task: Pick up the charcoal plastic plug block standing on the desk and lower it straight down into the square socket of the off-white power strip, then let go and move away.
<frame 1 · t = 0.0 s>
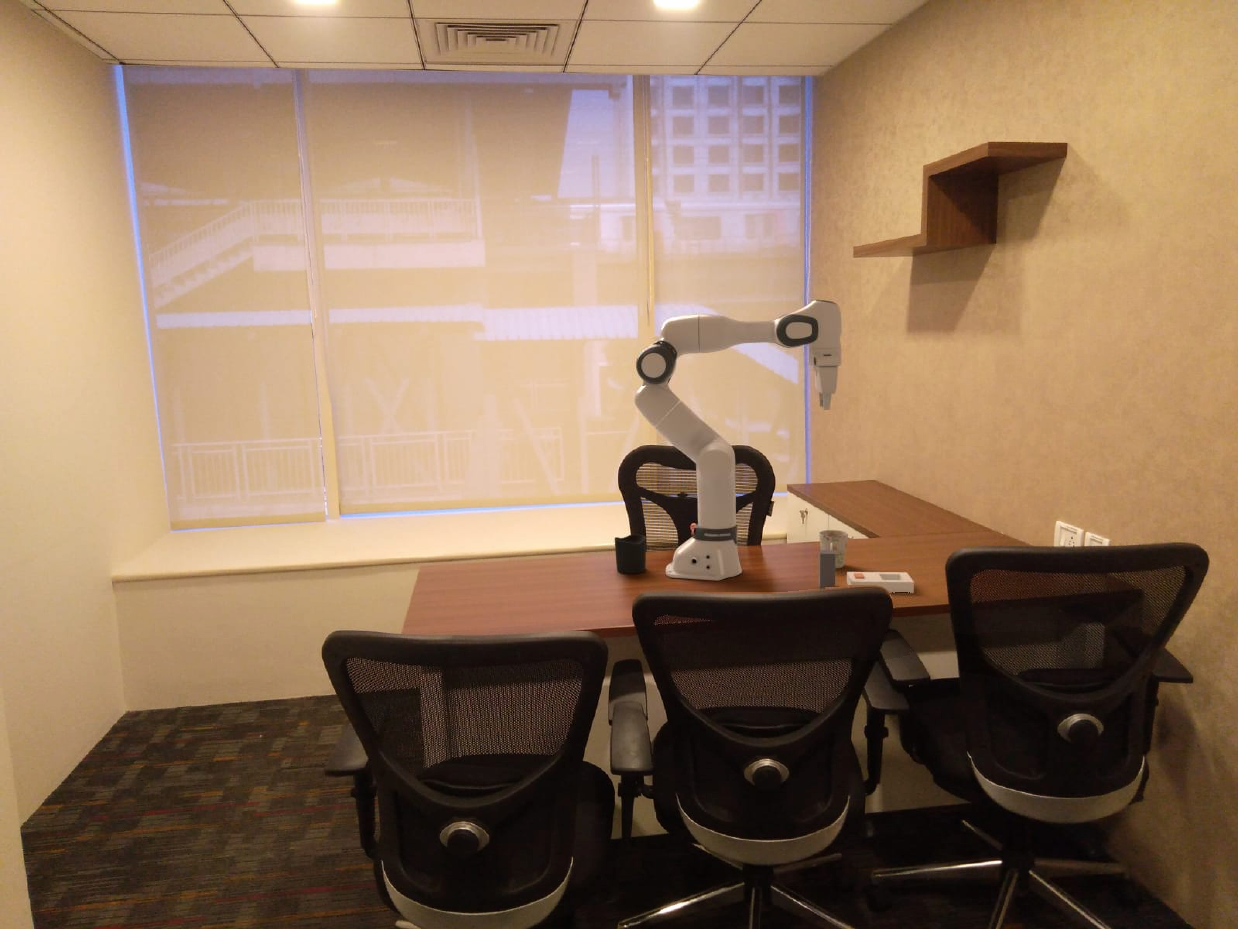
hand: (824, 408, 227), 48 cm above the table, tool pointing down, fingers open, 8 cm apart
power strip: (879, 587, 219), on the table
mug: (833, 568, 239), on the table
pen holder: (631, 570, 243), on the table
plug: (826, 587, 221), on the table
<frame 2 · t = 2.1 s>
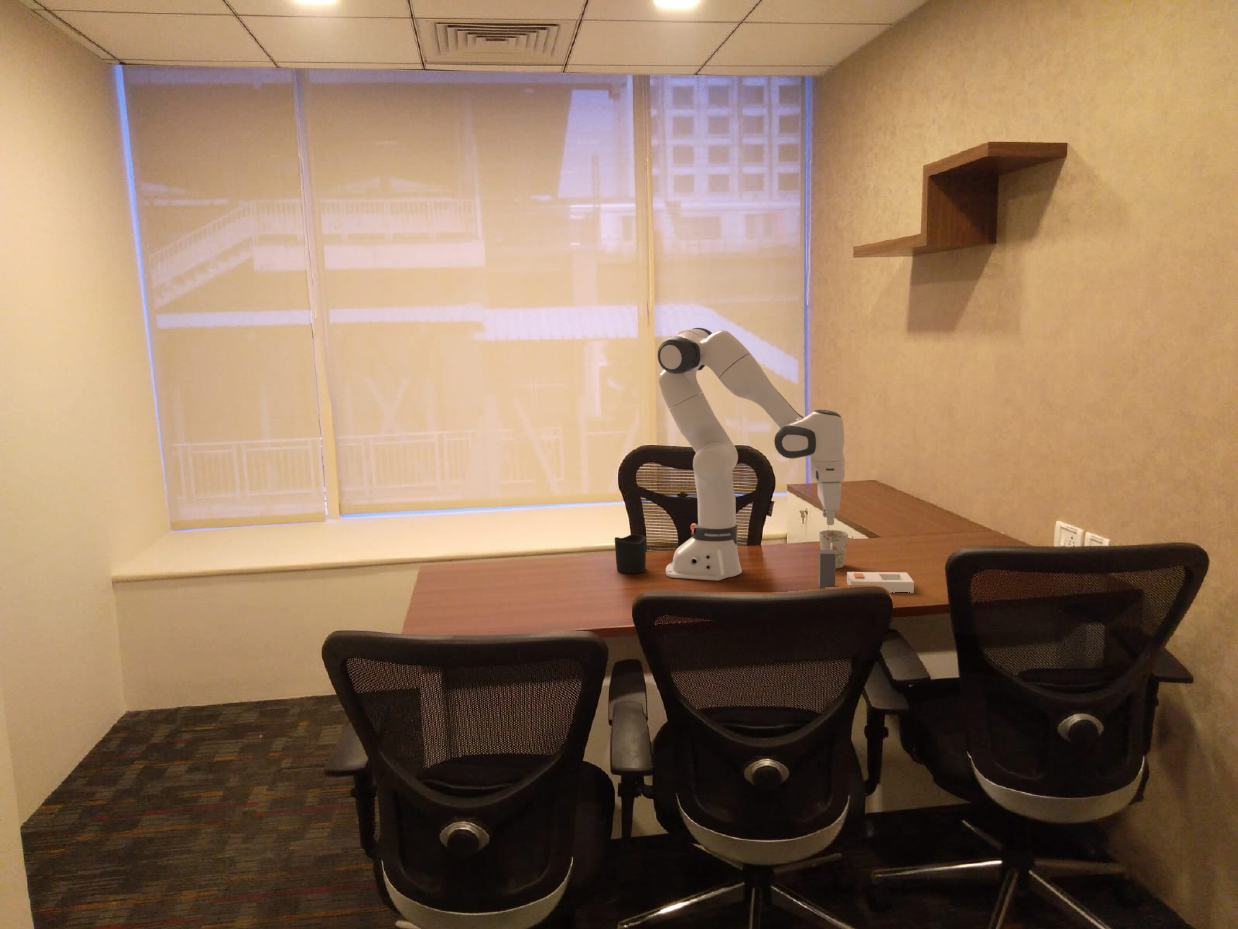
hand: (828, 520, 218), 19 cm above the table, tool pointing down, fingers open, 8 cm apart
nothing on the table moved.
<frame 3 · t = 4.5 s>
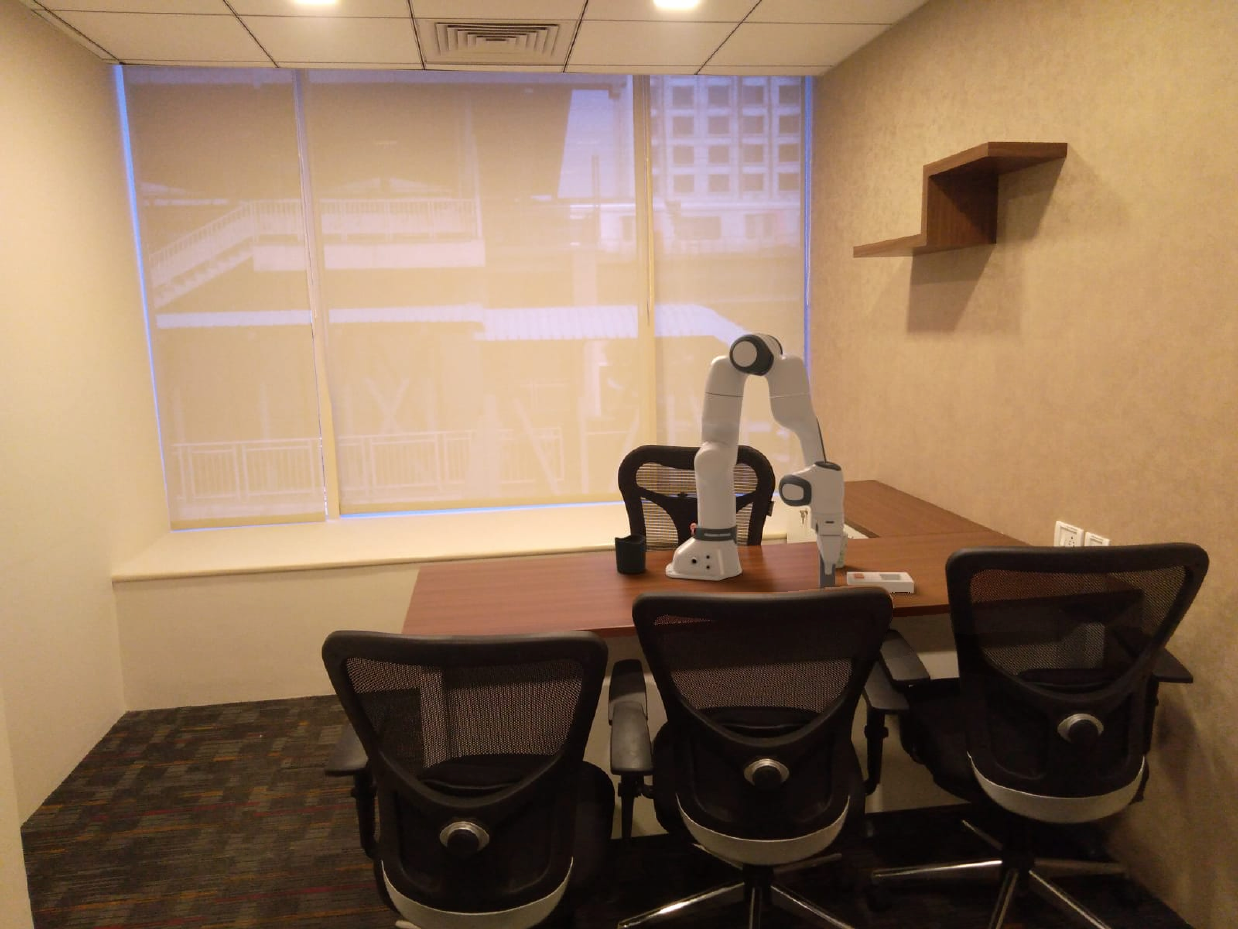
hand: (826, 570, 220), 5 cm above the table, tool pointing down, fingers closed on plug, 4 cm apart
plug: (826, 587, 221), on the table, touching gripper
everything else where it was.
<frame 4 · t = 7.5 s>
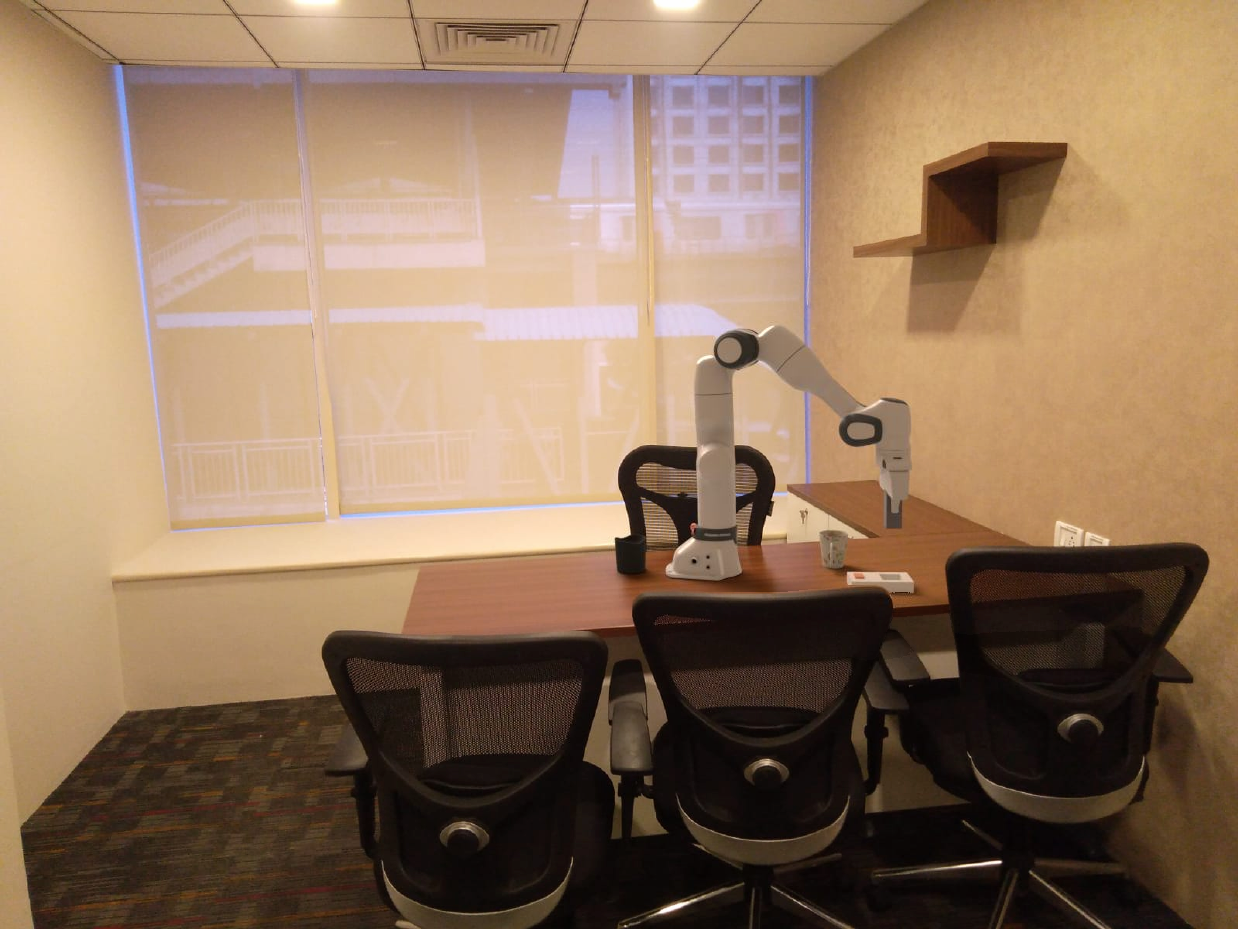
hand: (892, 510, 215), 21 cm above the table, tool pointing down, fingers closed on plug, 4 cm apart
plug: (892, 527, 216), point 17 cm above the table, touching gripper
everything else where it was.
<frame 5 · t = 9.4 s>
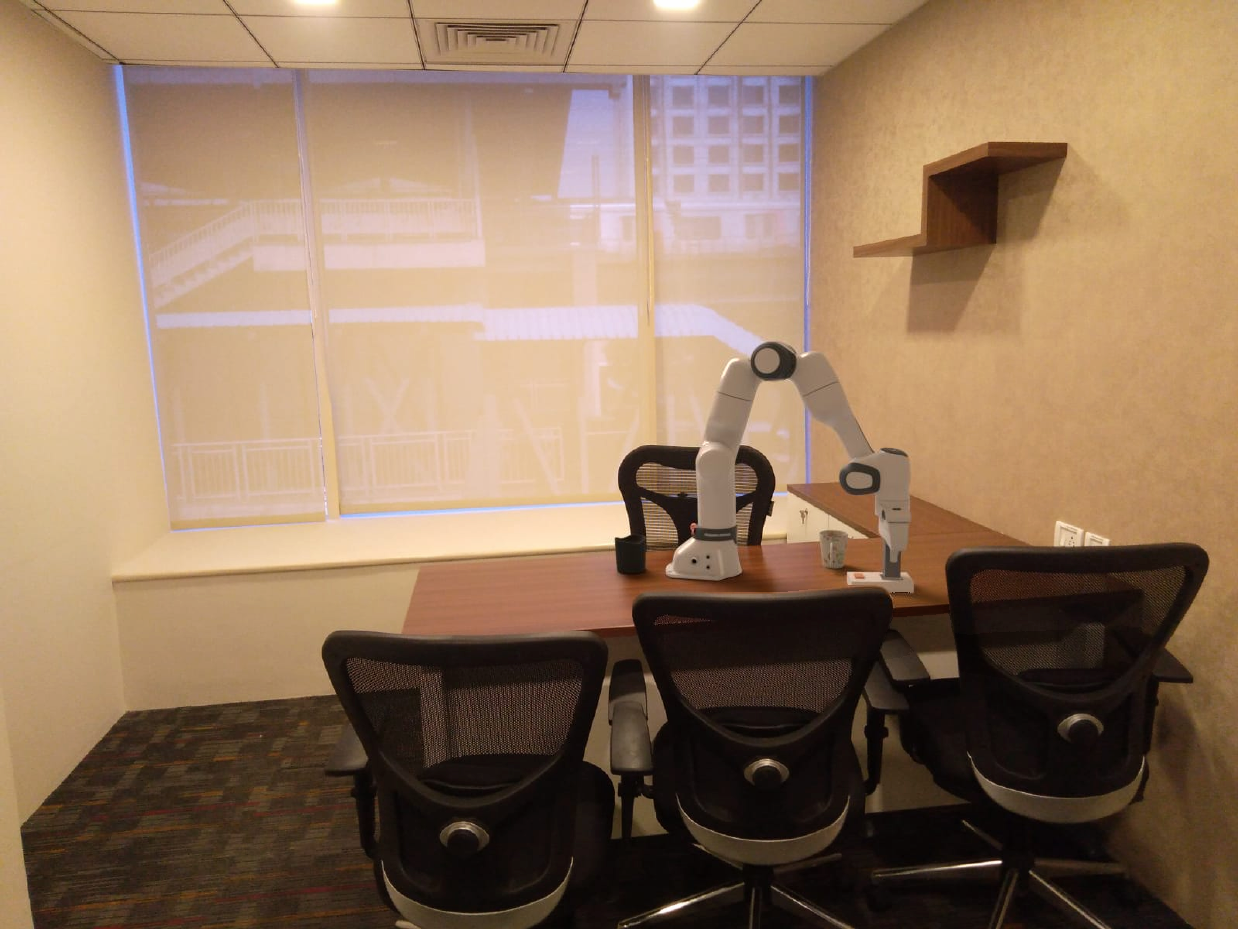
hand: (891, 558, 217), 8 cm above the table, tool pointing down, fingers closed on plug, 4 cm apart
plug: (891, 575, 218), point 3 cm above the table, touching gripper
everything else where it was.
when the fingers open (5 cm above the table, at t = 10.7 s): plug stays where it is, resting in power strip.
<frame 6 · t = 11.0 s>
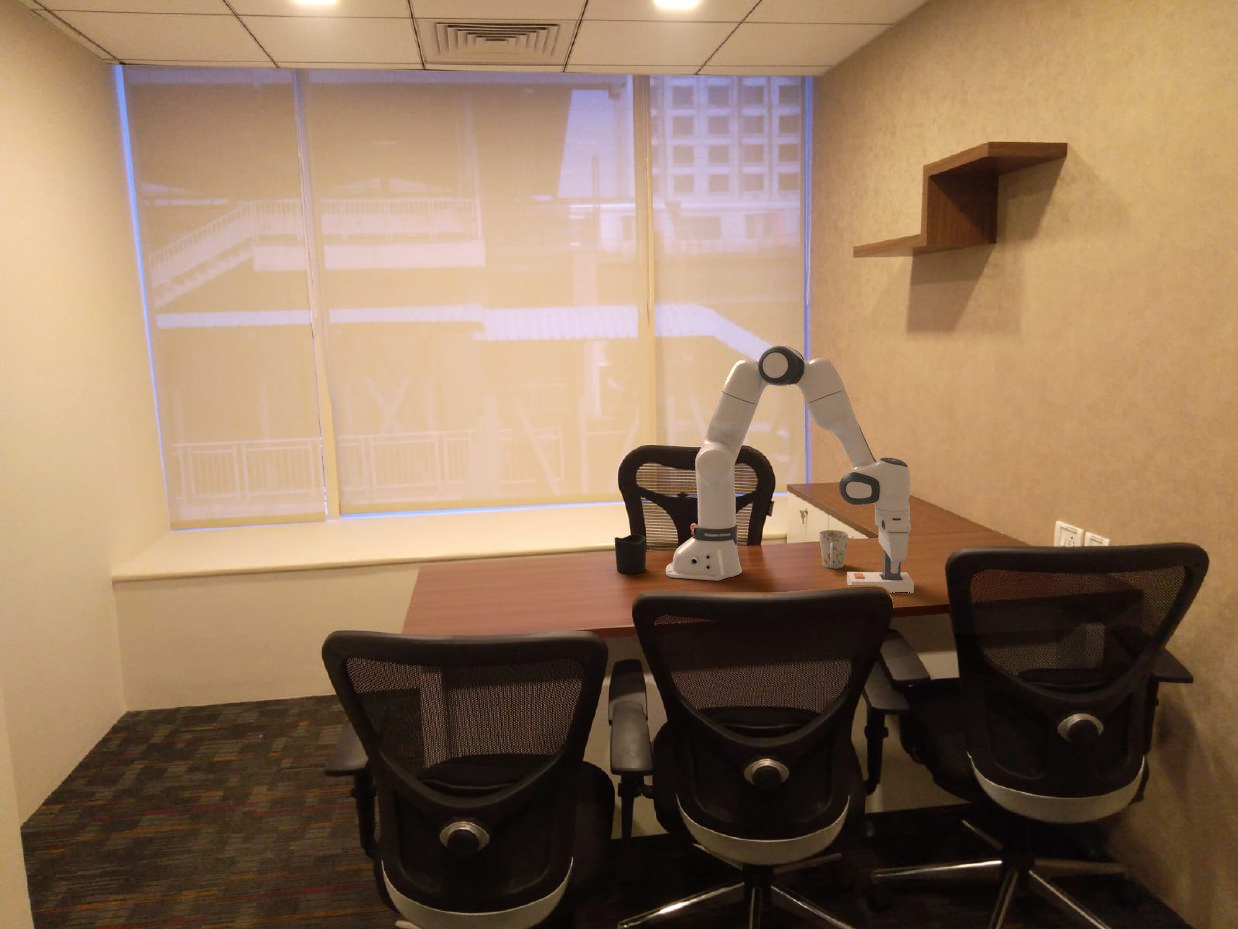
hand: (891, 568, 218), 5 cm above the table, tool pointing down, fingers open, 6 cm apart
plug: (890, 587, 218), resting in power strip
everything else where it was.
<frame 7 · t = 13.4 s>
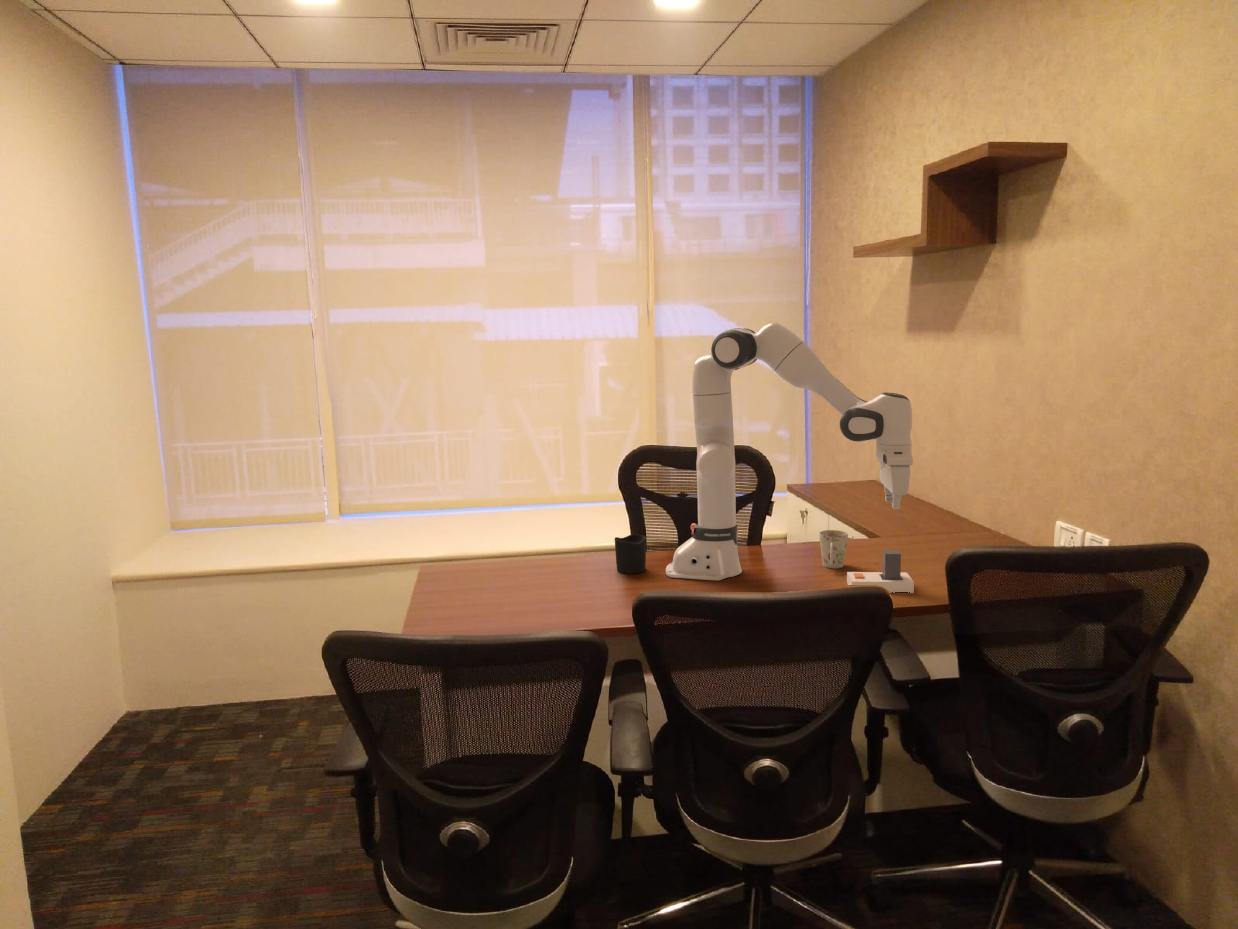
hand: (892, 505, 215), 23 cm above the table, tool pointing down, fingers open, 8 cm apart
nothing on the table moved.
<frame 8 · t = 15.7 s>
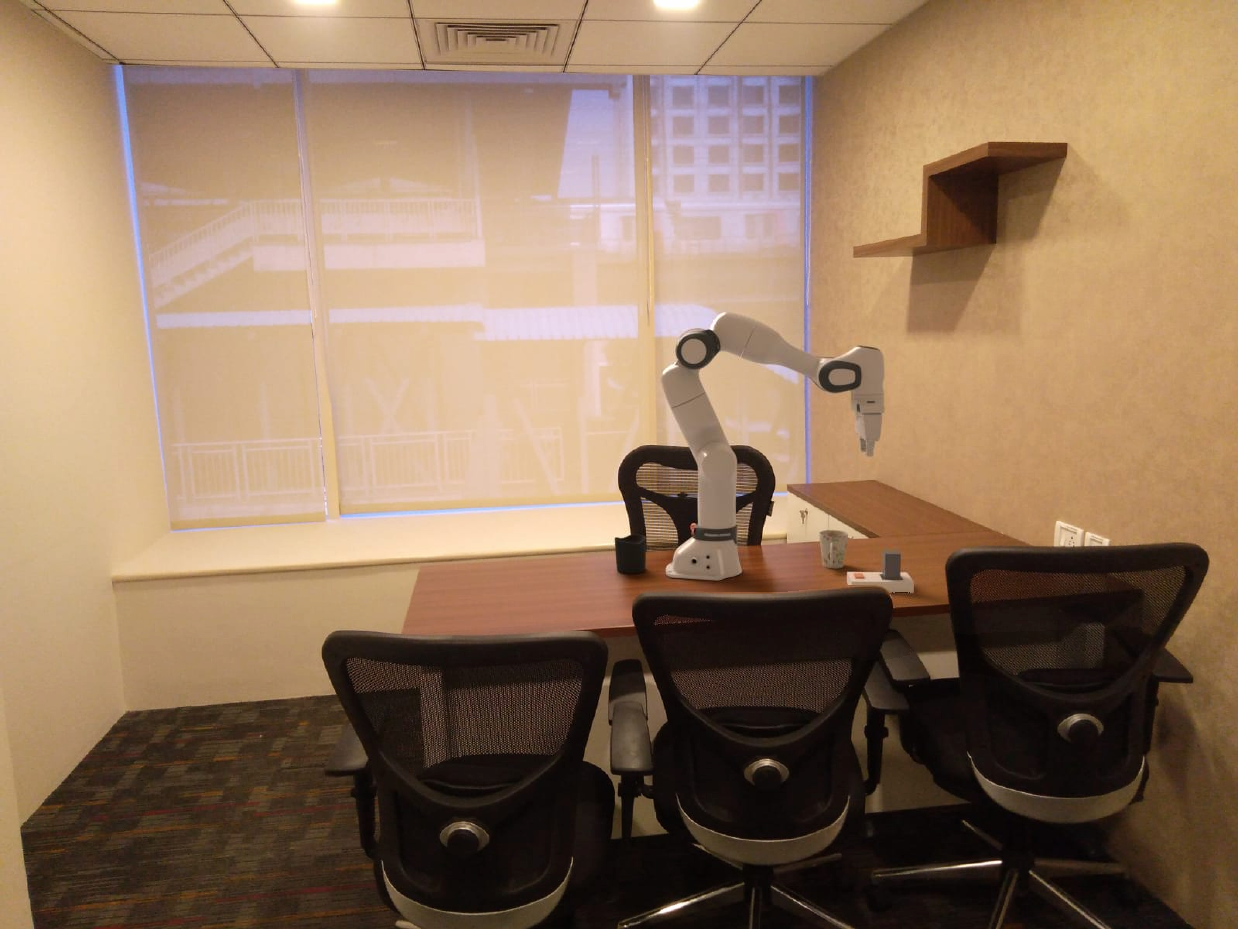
hand: (866, 453, 225), 35 cm above the table, tool pointing down, fingers open, 8 cm apart
nothing on the table moved.
at the end: plug 0.0 cm from the target spot on the power strip, point 0.0 cm above the power strip's base; plug tilted 0°; the gripper is holding nothing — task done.
